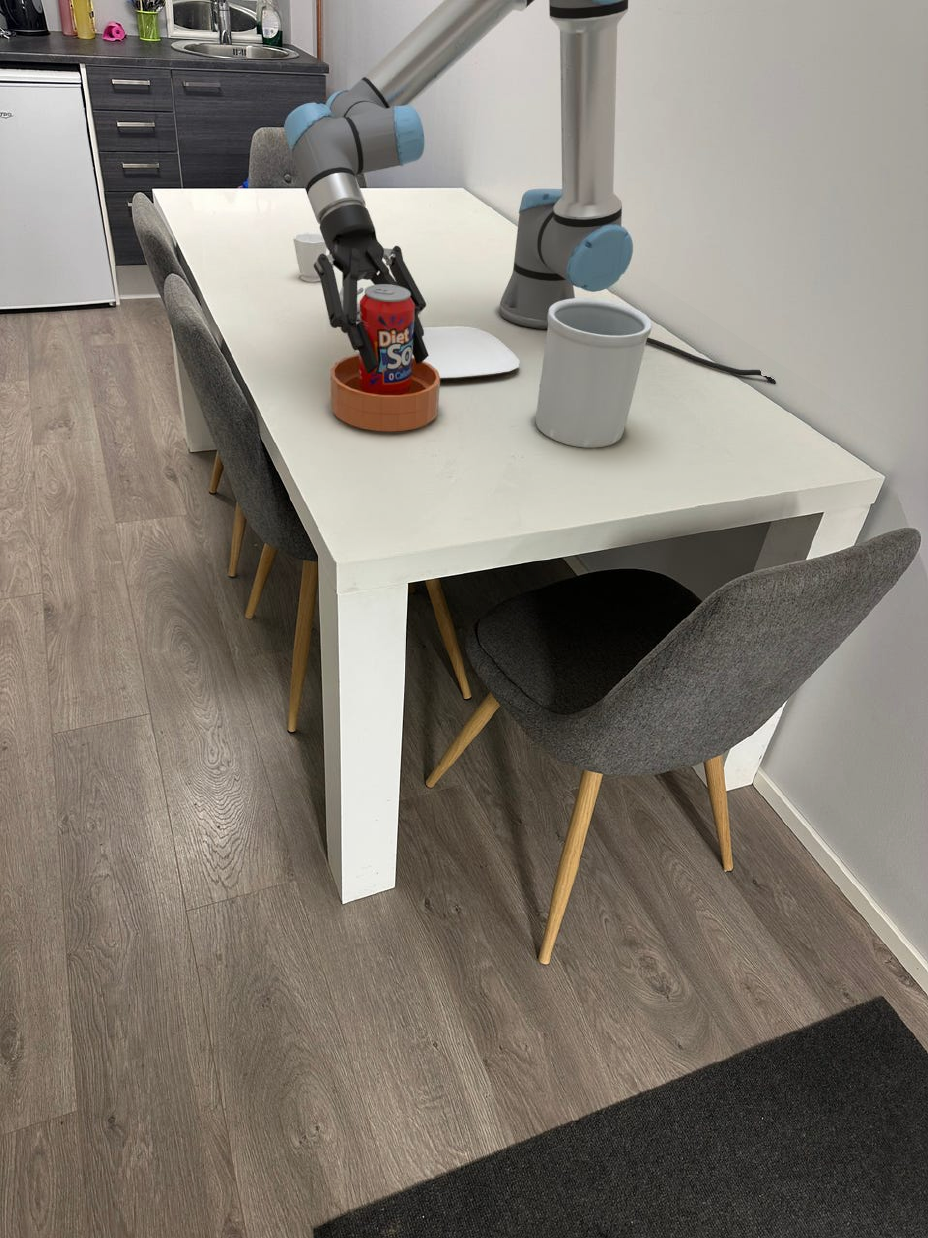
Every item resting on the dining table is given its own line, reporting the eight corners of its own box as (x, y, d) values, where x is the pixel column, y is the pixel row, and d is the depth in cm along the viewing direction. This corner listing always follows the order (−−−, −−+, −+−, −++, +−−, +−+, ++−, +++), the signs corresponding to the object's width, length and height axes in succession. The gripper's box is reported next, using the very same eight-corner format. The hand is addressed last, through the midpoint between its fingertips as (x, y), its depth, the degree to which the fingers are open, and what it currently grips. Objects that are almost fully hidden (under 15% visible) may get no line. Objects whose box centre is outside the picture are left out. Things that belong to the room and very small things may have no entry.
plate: (370, 339, 155) (370, 330, 154) (480, 331, 163) (481, 322, 162) (413, 389, 140) (413, 379, 139) (532, 378, 148) (533, 368, 147)
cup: (298, 284, 175) (296, 242, 170) (288, 268, 182) (286, 228, 177) (332, 283, 177) (331, 242, 172) (321, 268, 185) (320, 227, 180)
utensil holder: (643, 447, 131) (670, 333, 120) (552, 453, 127) (571, 336, 116) (604, 405, 142) (625, 296, 131) (518, 409, 138) (533, 298, 127)
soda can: (365, 377, 135) (366, 278, 125) (414, 384, 134) (420, 286, 125) (353, 398, 129) (353, 296, 119) (405, 405, 128) (410, 303, 119)
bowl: (445, 397, 139) (448, 360, 135) (426, 442, 126) (428, 403, 123) (346, 382, 140) (346, 346, 136) (318, 425, 128) (317, 387, 124)
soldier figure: (382, 313, 169) (372, 313, 158) (363, 329, 171) (351, 330, 159) (356, 279, 167) (344, 277, 156) (337, 295, 169) (324, 294, 157)
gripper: (392, 225, 134) (444, 363, 134) (269, 236, 124) (326, 387, 124) (413, 196, 128) (467, 342, 128) (285, 206, 117) (345, 365, 117)
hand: (398, 364), depth 126 cm, fingers closed on soda can, 8 cm apart
